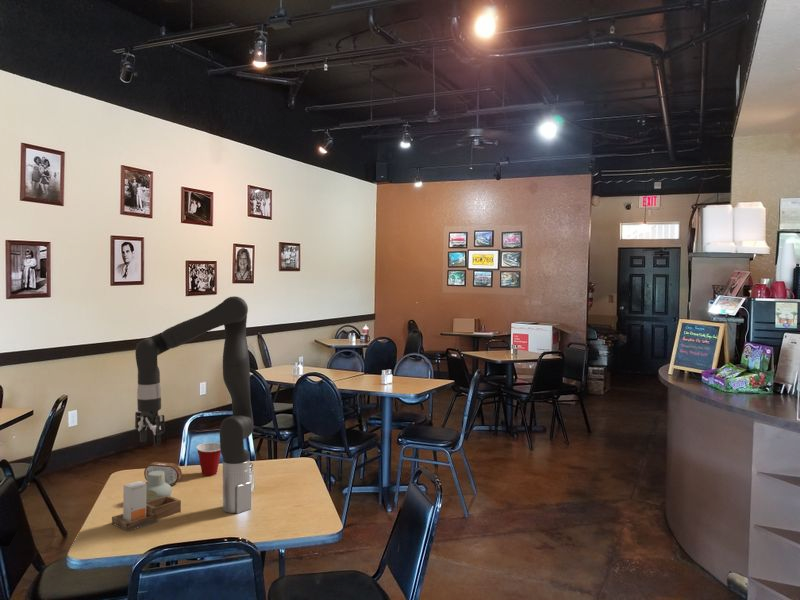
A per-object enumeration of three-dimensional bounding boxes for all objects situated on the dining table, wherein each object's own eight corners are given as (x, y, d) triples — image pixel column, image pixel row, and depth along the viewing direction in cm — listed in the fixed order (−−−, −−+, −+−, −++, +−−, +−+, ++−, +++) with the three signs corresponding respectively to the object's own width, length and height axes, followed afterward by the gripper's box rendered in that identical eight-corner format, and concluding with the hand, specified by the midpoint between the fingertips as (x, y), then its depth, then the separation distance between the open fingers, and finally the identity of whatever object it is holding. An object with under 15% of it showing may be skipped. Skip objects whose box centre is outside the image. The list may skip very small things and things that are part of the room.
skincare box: (129, 524, 196) (129, 487, 195) (122, 520, 198) (122, 485, 198) (147, 518, 200) (147, 483, 200) (140, 515, 203) (140, 480, 203)
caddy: (183, 512, 208) (183, 501, 208) (127, 531, 192) (127, 519, 192) (167, 506, 214) (167, 495, 214) (111, 523, 198) (111, 511, 198)
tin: (182, 484, 238) (182, 463, 238) (178, 486, 235) (178, 465, 235) (147, 481, 241) (147, 461, 240) (142, 484, 237) (142, 463, 237)
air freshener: (135, 502, 218) (135, 475, 218) (150, 494, 226) (150, 468, 226) (162, 505, 215) (162, 477, 215) (175, 497, 223) (175, 470, 223)
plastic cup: (202, 480, 243) (202, 450, 243) (191, 473, 251) (191, 445, 251) (227, 474, 250) (227, 446, 250) (216, 468, 258) (216, 441, 258)
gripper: (171, 396, 205) (172, 444, 205) (147, 393, 213) (148, 438, 213) (151, 400, 198) (151, 449, 199) (127, 396, 207) (128, 442, 207)
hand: (150, 443), depth 206 cm, fingers open, 8 cm apart
